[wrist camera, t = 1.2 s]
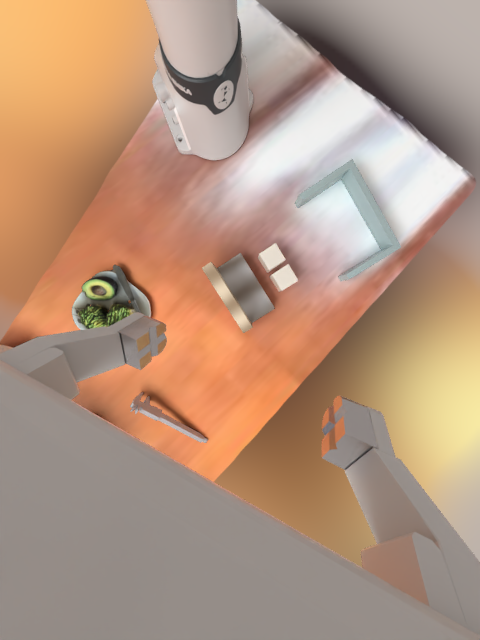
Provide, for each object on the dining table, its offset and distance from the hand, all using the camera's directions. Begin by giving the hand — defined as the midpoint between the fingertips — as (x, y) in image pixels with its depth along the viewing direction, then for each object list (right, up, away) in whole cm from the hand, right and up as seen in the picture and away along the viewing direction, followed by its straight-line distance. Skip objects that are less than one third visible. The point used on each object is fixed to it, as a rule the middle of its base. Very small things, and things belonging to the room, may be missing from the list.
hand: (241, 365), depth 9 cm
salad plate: (-30, +5, +38) cm, 49 cm away
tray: (+22, +22, +34) cm, 47 cm away
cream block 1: (+7, +15, +35) cm, 39 cm away
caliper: (-16, -22, +40) cm, 49 cm away
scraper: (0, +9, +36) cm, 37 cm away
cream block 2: (+9, +11, +36) cm, 39 cm away
